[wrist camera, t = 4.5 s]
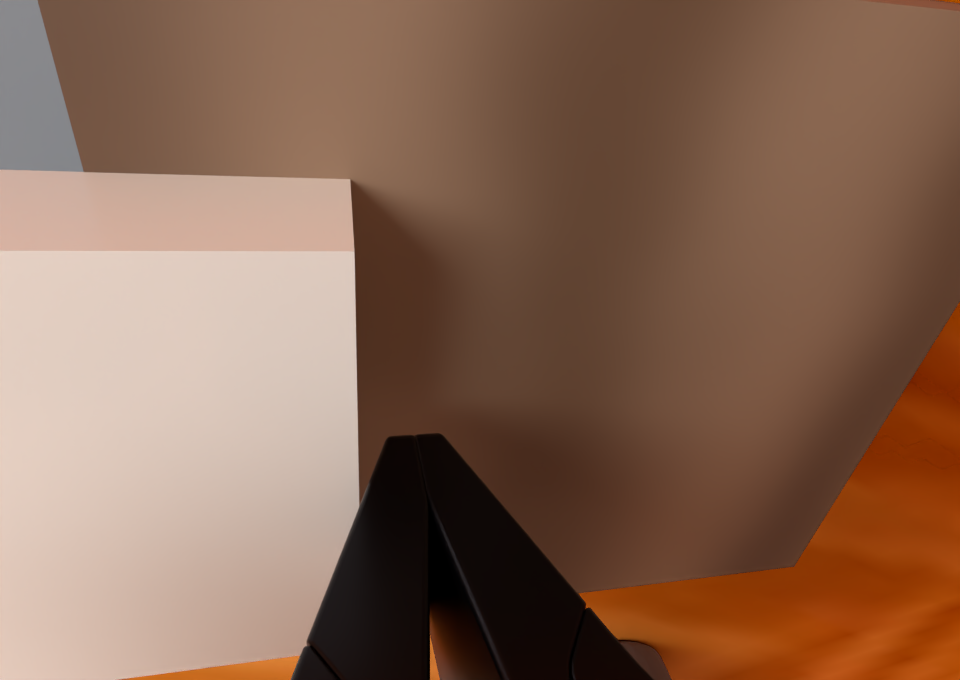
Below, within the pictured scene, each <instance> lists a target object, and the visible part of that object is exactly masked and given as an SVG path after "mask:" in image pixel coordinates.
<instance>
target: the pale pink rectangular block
mask: <svg viewBox="0 0 960 680" xmlns="http://www.w3.org/2000/svg"><path fill="white" fill-rule="evenodd" d="M358 508H359V463H358V411H357V358H356V306H355V254H354V235H353V218H352V201H351V184H350V179H322V178H285V177H247V176H210V175H172V174H135V173H97V172H70V171H32V170H0V680H118V679H126V678H133V677H141V676H148V675H156V674H163V673H171V672H178V671H186V670H193V669H201V668H209V667H216V666H224V665H231V664H239V663H246V662H254V661H261V660H269V659H276V658H284V657H291V656H299V655H301V652H302V650H303V648H304V647H305V646H307V643H306V641H307V638H308V636H309V633H310V631H311V628H312V625H313V623H314V620H315V618H316V615H317V613H318V610H319V608H320V605H321V603H322V600H323V597H324V595H325V592H326V590H327V587H328V585H329V582H330V580H331V577H332V575H333V572H334V569H335V567H336V564H337V562H338V559H339V557H340V554H341V552H342V549H343V547H344V544H345V541H346V539H347V536H348V534H349V531H350V529H351V526H352V524H353V521H354V519H355V516H356V513H357V511H358Z"/></svg>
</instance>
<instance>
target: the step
mask: <svg viewBox="0 0 960 680" xmlns="http://www.w3.org/2000/svg"><path fill="white" fill-rule="evenodd" d="M37 1H38V4H39V8H40V12H41V15H42V19H43V23H44V27H45V30H46V34H47V38H48V41H49V45H50V49H51V53H52V56H53V60H54V64H55V67H56V71H57V75H58V78H59V82H60V86H61V90H62V93H63V97H64V101H65V104H66V108H67V112H68V116H69V119H70V123H71V127H72V130H73V134H74V138H75V141H76V145H77V149H78V153H79V156H80V160H81V164H82V167H83V171H84V172H97V173H135V174H172V175H210V176H247V177H285V178H322V179H350V184H351V201H352V218H353V235H354V254H355V306H356V358H357V411H358V463H359V506H360V503H361V501H362V498H363V496H364V493H365V491H366V488H367V485H368V483H369V480H370V478H371V475H372V473H373V470H374V468H375V465H376V463H377V460H378V458H379V455H380V452H381V450H382V447H383V445H384V442H385V440H386V439H387V438H388V437H389V436H398V435H414V436H415V435H417V434H428V433H440V434H442V435H444V436H445V438H446V439H447V440H448V441H449V442H450V444H451V445H452V446H453V447H454V448H455V449H456V451H457V452H458V453H459V454H460V455H461V456H462V458H463V459H464V460H465V461H466V462H467V464H468V465H469V466H470V467H471V468H472V469H473V471H474V472H475V473H476V474H477V475H478V477H479V478H480V479H481V480H482V481H483V482H484V484H485V485H486V486H487V487H488V488H489V490H490V491H491V492H492V493H493V494H494V495H495V497H496V498H497V499H498V500H499V501H500V502H501V504H502V505H503V506H504V507H505V508H506V510H507V511H508V512H509V513H510V514H511V515H512V517H513V518H514V519H515V520H516V521H517V523H518V524H519V525H520V526H521V527H522V528H523V530H524V531H525V532H526V533H527V534H528V536H529V537H530V538H531V539H532V540H533V541H534V543H535V544H536V545H537V546H538V547H539V548H540V550H541V551H542V552H543V553H544V554H545V556H546V557H547V558H548V559H549V560H550V561H551V563H552V564H553V565H554V566H555V567H556V569H557V570H558V571H559V572H560V573H561V574H562V576H563V577H564V578H565V579H566V580H567V582H568V583H569V584H570V585H571V586H572V587H573V589H574V590H575V591H576V592H577V593H584V592H592V591H600V590H608V589H617V588H625V587H633V586H641V585H649V584H657V583H665V582H673V581H681V580H689V579H697V578H705V577H713V576H722V575H730V574H738V573H746V572H754V571H762V570H770V569H778V568H786V567H794V566H795V564H796V563H797V561H798V559H799V558H800V556H801V555H802V553H803V551H804V550H805V548H806V547H807V545H808V543H809V542H810V540H811V539H812V537H813V535H814V534H815V532H816V531H817V529H818V527H819V526H820V524H821V523H822V521H823V519H824V518H825V516H826V515H827V513H828V511H829V510H830V508H831V507H832V505H833V503H834V502H835V500H836V499H837V497H838V495H839V494H840V492H841V491H842V489H843V487H844V486H845V484H846V483H847V481H848V479H849V478H850V476H851V475H852V473H853V471H854V470H855V468H856V467H857V465H858V463H859V462H860V460H861V459H862V457H863V455H864V454H865V452H866V451H867V449H868V447H869V446H870V444H871V443H872V441H873V439H874V438H875V436H876V435H877V433H878V431H879V430H880V428H881V427H882V425H883V423H884V422H885V420H886V419H887V417H888V415H889V414H890V412H891V411H892V409H893V407H894V406H895V404H896V403H897V401H898V399H899V398H900V396H901V395H902V393H903V391H904V390H905V388H906V387H907V385H908V383H909V382H910V380H911V379H912V377H913V375H914V374H915V372H916V371H917V369H918V367H919V366H920V364H921V363H922V361H923V359H924V358H925V356H926V355H927V353H928V351H929V350H930V348H931V347H932V345H933V343H934V342H935V340H936V339H937V337H938V335H939V334H940V332H941V331H942V329H943V327H944V326H945V324H946V323H947V321H948V319H949V318H950V316H951V315H952V313H953V311H954V310H955V308H956V307H957V305H958V303H959V302H960V4H959V3H953V2H944V1H935V0H37Z"/></svg>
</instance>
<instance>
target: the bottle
mask: <svg viewBox="0 0 960 680" xmlns="http://www.w3.org/2000/svg"><path fill="white" fill-rule="evenodd" d="M619 642H620V643H621V644H622V645H623V647H624V648H625V649H626V650H627V651H628V652H629V653H630V654H631V656H632V657H633V658H634V659H635V660H636V661H637V662H638V663H639V664H640V666H641V667H642V668H643V669H644V670H645V671H646V672H647V673H648V674H649V675H650V676H651V677H652V678H653V679H654V680H672V679H671V677H670V675H669V673H668V671H667V668H666V666H665V664H664V662H663V660H662V658H661V656H660V655H659V654H658V652H657V651H656V650H655V649H653V648H651V647H650V646H648V645H645V644H641V643H638V642H629V641H619Z"/></svg>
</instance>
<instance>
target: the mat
mask: <svg viewBox="0 0 960 680" xmlns="http://www.w3.org/2000/svg"><path fill="white" fill-rule="evenodd" d="M0 170H32V171H70V172H84V171H83V167H82V164H81V160H80V156H79V153H78V149H77V145H76V141H75V138H74V134H73V130H72V127H71V123H70V119H69V116H68V112H67V108H66V104H65V101H64V97H63V93H62V90H61V86H60V82H59V78H58V75H57V71H56V67H55V64H54V60H53V56H52V53H51V49H50V45H49V41H48V38H47V34H46V30H45V27H44V23H43V19H42V15H41V12H40V8H39V4H38V1H37V0H0Z"/></svg>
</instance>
